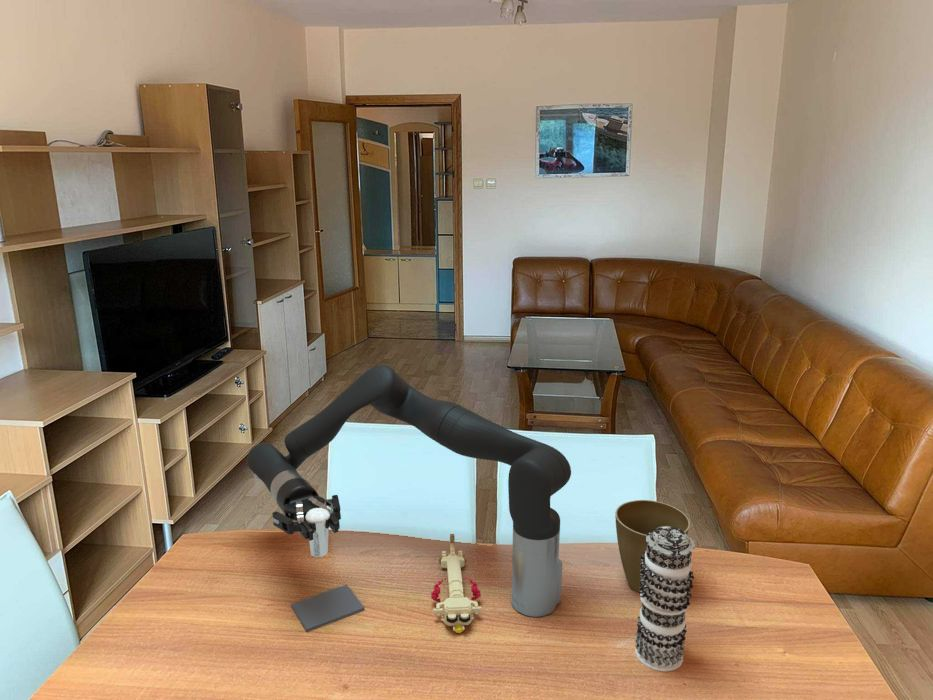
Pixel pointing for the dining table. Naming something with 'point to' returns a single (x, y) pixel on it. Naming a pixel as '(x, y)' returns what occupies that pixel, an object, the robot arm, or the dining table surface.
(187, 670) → the dining table surface
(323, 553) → the milkshake
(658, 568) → the decorative candle
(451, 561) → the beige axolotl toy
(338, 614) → the charcoal mat
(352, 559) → the dining table surface
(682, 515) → the plant pot
